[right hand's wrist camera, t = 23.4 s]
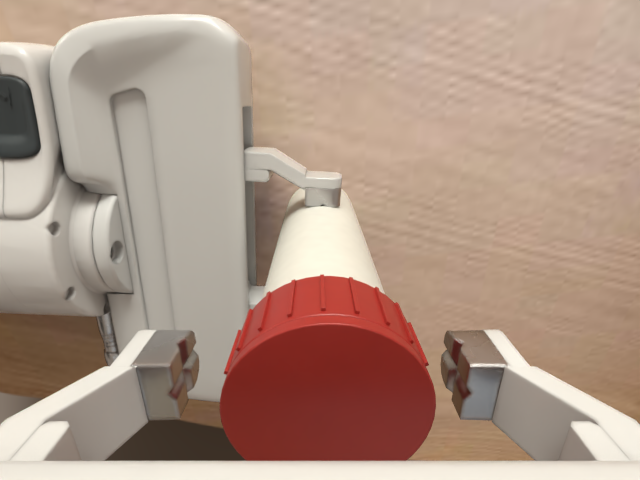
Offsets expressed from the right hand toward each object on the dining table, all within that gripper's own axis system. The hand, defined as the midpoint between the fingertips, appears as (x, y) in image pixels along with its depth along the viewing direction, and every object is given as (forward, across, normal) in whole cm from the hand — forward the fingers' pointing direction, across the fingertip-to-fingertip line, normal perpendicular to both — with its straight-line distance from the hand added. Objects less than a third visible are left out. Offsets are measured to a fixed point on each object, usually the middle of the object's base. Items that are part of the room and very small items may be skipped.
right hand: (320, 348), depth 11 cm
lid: (-2, 0, 0) cm, 2 cm away
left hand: (+9, -1, 0) cm, 9 cm away
